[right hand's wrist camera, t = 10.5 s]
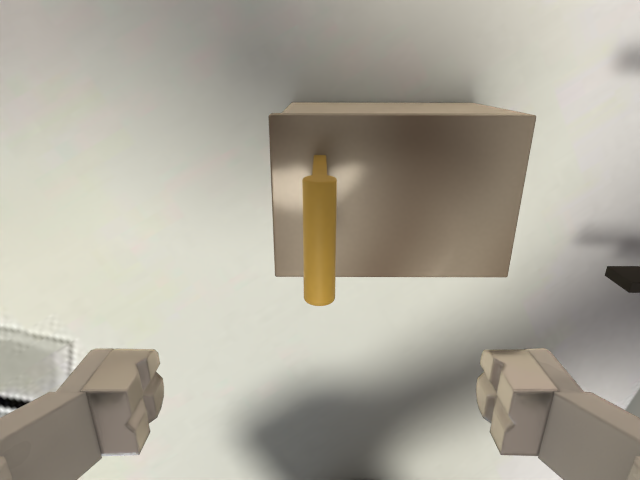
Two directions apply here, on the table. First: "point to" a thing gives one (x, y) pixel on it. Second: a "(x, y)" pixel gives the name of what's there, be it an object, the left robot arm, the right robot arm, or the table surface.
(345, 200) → the lid
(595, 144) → the table surface
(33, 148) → the table surface
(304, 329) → the table surface
